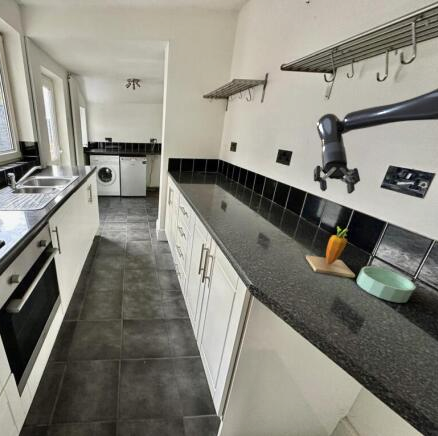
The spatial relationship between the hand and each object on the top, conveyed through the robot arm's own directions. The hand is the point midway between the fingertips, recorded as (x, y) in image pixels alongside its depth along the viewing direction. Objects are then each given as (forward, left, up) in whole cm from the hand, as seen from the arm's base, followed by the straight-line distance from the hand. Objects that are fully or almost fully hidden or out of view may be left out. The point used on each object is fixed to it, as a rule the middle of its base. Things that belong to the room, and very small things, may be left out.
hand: (337, 191), depth 87 cm
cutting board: (0, +12, -26) cm, 29 cm away
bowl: (-11, +22, -26) cm, 36 cm away
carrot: (0, +11, -25) cm, 28 cm away
